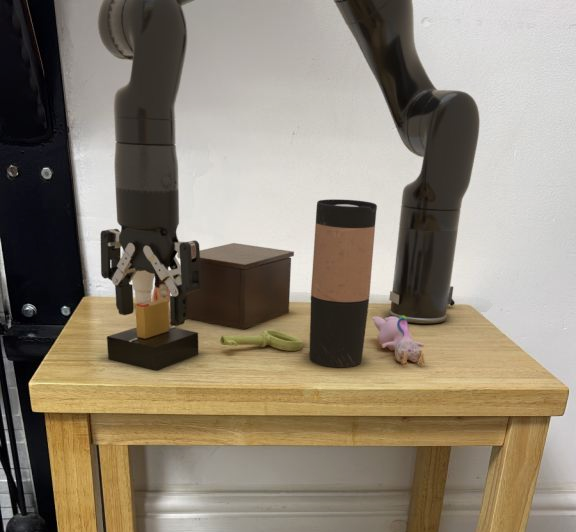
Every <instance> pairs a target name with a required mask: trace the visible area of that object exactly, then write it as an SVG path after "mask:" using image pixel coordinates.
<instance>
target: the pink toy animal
mask: <svg viewBox="0 0 576 532" xmlns="http://www.w3.org/2000/svg"><path fill="white" fill-rule="evenodd" d="M372 320H373V325H374V326H375V328H376V329H377V331H378V335H377V336H376V337H377V342H378V343H379V344H380V345H381V348H383V349H384V348H388V349H389V351H394V356H395V359H396V361H397V362H399V363H400V364H401V365H402V366H403V367H405V364H406V365H409V362H408V360H409V361H410V362H412V363H417V364H418V365H419V364H420V366H421V367H423V365H422V364H425V360H424V359H425V358H424V353H423V350H422V349H420V348H424V347H425V343H423V342H418V341H415V340H413V336H412V333H410V331H409V324H408V322H407V320H406V317H405V316H404V315H403V316H401V317H400V318H397V317H394V316H392V317H391V316H387V317H385V318H382V317H381V316H373V318H372Z"/></svg>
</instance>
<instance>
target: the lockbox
mask: <svg viewBox="0 0 576 532" xmlns="http://www.w3.org/2000/svg"><path fill="white" fill-rule="evenodd" d="M200 269H201V289H200V290H198V291H194V292H191V293H189V294H188V297H187V300H188V308H187V309H188V311H187V312H188V317H187V319H190V320H195V321H199V322H205V323H209V324H215V325H220V326H224V327H230V328H235V329H240V330H246V329H249V328H252V327H254V326H257V325H260V324H263V323H265V322H268V321H272V320H273V319H277V318H279V317H282V316H284V315H287V314H289V313H290V297H291V296H290V293H291V274H292V273H291V271H292V257H288V258H285V259H281V260H278V261H274V262H270V263H267V264H263V265H259V266H256V267H252V268H248V269H239V268H233V267H227V266H220V265H214V264H208V263H202V262H200Z"/></svg>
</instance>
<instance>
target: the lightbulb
mask: <svg viewBox="0 0 576 532" xmlns="http://www.w3.org/2000/svg"><path fill="white" fill-rule="evenodd" d="M123 254H124V250H123V249H122V251H121V257H122V256H123ZM154 281H155V275H154V274H153V273H149V272H147V271H145V270H144V271H137V272H136V273H135V275H134V277H133V278H132V280H131V282H132V285H133V291H134V298H135V303H137V304H139V303H149V302H152V296H153V290H154Z"/></svg>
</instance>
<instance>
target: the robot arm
mask: <svg viewBox="0 0 576 532" xmlns="http://www.w3.org/2000/svg"><path fill="white" fill-rule="evenodd" d="M195 1H196V0H102V1H101V3H100V5H99V10H98V14H97V30H98V35H99V38H100V41H101V43H102V45H103V46H104V47H105V49H106V50H107V51H108V52H109V54H111V55H113V56H114V57H115V58H117V59H120V60H123V61H125V62H126V61H127V62H132V63H131V72H130V78H129V81H128V83H126V84H125V85H123V86H121V87H119V88H118V89H117V90H116V92H115V94H114V97H113V116H114V119H113V120H114V137H115V138H114V141H115V149H114V181H115V183H114V186H115V203H116V205H115V206H116V221H117V224H118V225H119V226H120V227H121V229H118V228H110V229H105V230H101V232H100V275H101V277H102V278H103V279H108V280H110V281H111V282H112V284H113V285H114V288H115V289H114V290H115V306H116V310H118V314H119V315H121V316H127V315H131V314H133V313H134V310H135V309H134V308H135V307H134V289H133V283H132V284H131V282H132V278H133V277H134V275H135V273H136V272H137V271H144V270H145V271H147V272H149V273H153V274H156V273H157V275H158V276H159V278H160V280H161V281H163V282H165V284H166V286H167V287H168V289H169V291H170V301H169V310H170V323H171V325H172V326H176V327H178V326H182V325H184V324H185V322H186V321H187V320H188V318H187V317H188V312H187V311H188V309H187V308H188V300H187V297H188V294H189V293H191V292H194V291H198V290H200V289H201V269H200V250H201V249H200V242H199V241H198V240H195V239H194V240H189V241H179V238H178V234H177V229H178V227H179V225H180V199H179V198H180V197H179V195H180V194H179V190H180V189H179V162H178V155H177V146H176V144H177V142H176V141H177V135H176V133H177V132H176V129H177V128H176V103H177V98H178V94H179V91H180V86H181V82H182V81H181V80H182V75H183V69H184V65H185V61H186V60H185V59H186V55H187V49H188V25H187V19H186V15H185V12H184V8H183V6H185V5H187V4H191V3H193V2H195ZM333 3H334V5H335V6H336V8H337V10H338V12H339V13H340V15H341V18H342V19H343V21H344V24H345V25H346V26H347V29H348V30H349V32H350V33H351V35H352V37H353V39H354V40H355V43H356V44H357V46H358V48H359V50H360V52H361V54H362V57H363V58H364V60H365V63H366V64H367V66H368V67H369V70H370V71H371V73H372V75H373V76H374V79H375V80H376V82H377V85H378V87H379V90H380V91H381V93H382V96H383V98H384V101H385V103H386V106H387V109H388V111H389V113H390V116H391V118H392V121H393V124H394V126H395V129H396V131H397V133H398V136H399V138H400V140H401V141H402V144H403V145H404V146H405V148H406V149H407V150H408V151H409V152H410V153H412V154H413V155H415V156H417V157H421V158H422V164H421V169H420V173H419V174H418V176H417V177H416V178H415V179H414V180H413V181H411V182H409V183H407V184H406V185H405V186H404V187H403V190H402V194H401V205H400V213H399V222H398V234H397V242H396V252H395V260H394V261H395V262H394V273H393V279H392V280H393V281H392V290H390V291H389V301H390V308H389V313H388V315H389V317H392V316H394V317H397V318H400V317H401V316H403V315H404V316H405V317H406V320H407V323H411V324H422V325H424V324H425V325H426V324H427V325H430V324H431V325H432V324H439V323H443V322H445V321H447V317H448V313H447V312H448V306H451V307H453V306H454V305H455V301H454V299H453V292H454V286H451V283H452V276H453V268H454V261H455V254H456V246H457V240H458V233H459V232H458V231H459V225H460V217H461V209H462V204H463V199H464V197H465V194H466V193H467V191H468V189H469V186H470V183H471V180H472V175H473V167H474V163H475V157H476V154H477V153H476V152H477V146H478V142H479V136H480V123H481V120H480V111H479V107H478V104H477V102H476V100H475V99H474V98H473V96H472V95H470V94H469V93H468V92H466V91H463V90H452V89H437V88H436V86H435V85H434V83H433V82H432V80H431V79H430V77H429V75H428V74H427V71H426V69H425V67H424V66H423V64H422V61H421V59H420V57H419V54H418V51H417V48H416V42H415V21H414V3H413V0H333ZM121 248H122V251H123V250H124V254H123V256H122V251H121ZM178 259H179V261H178ZM167 269H168V270H167Z"/></svg>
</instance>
